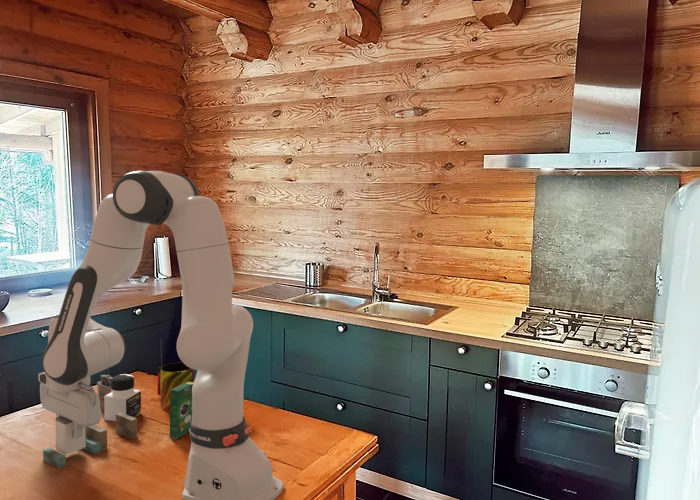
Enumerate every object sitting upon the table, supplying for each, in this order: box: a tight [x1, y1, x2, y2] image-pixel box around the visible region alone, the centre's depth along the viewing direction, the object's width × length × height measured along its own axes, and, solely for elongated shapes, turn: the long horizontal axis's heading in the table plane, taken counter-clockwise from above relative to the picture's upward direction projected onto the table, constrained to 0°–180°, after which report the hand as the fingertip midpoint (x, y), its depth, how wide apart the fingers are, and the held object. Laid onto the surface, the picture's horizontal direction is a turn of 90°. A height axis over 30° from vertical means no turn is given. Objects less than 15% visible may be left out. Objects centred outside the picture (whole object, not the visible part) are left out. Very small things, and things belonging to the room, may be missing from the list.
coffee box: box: [169, 382, 194, 440], centre depth 143 cm, size 8×3×13 cm, turn 161°
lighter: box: [96, 374, 114, 412], centre depth 158 cm, size 8×3×10 cm, turn 55°
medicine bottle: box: [103, 373, 142, 422], centre depth 152 cm, size 7×7×12 cm
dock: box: [42, 412, 138, 469], centre depth 133 cm, size 7×20×5 cm, turn 147°
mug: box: [157, 361, 195, 412], centre depth 162 cm, size 10×14×12 cm
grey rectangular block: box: [55, 416, 86, 456], centre depth 129 cm, size 4×5×8 cm
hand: (70, 434), depth 129 cm, fingers closed on grey rectangular block, 4 cm apart
